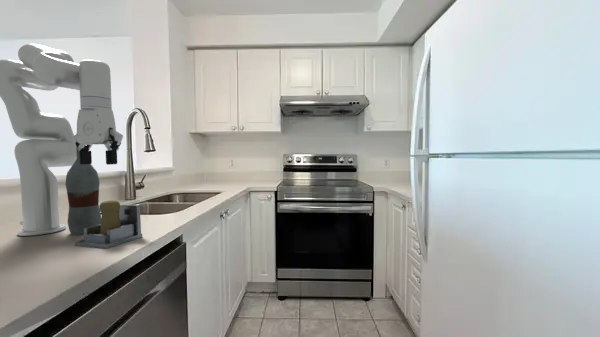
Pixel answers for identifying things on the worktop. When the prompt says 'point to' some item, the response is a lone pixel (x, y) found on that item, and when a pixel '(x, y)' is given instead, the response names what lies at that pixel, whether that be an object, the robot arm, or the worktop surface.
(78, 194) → the bottle
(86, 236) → the clip bracket
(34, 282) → the worktop surface
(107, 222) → the cork
